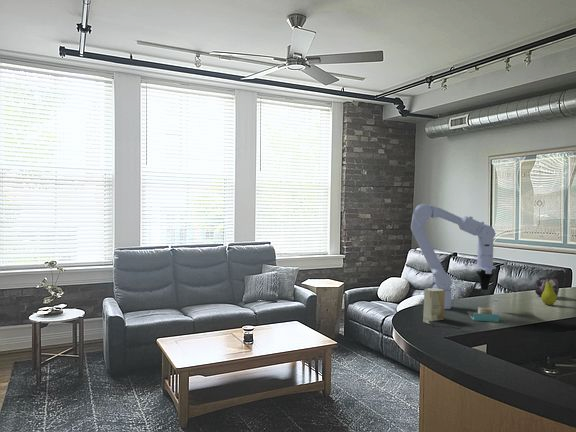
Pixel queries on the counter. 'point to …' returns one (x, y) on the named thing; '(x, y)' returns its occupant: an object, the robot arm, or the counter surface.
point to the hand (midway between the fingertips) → (484, 289)
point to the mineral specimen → (542, 282)
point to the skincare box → (433, 305)
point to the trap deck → (484, 317)
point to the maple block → (484, 310)
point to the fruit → (548, 294)
